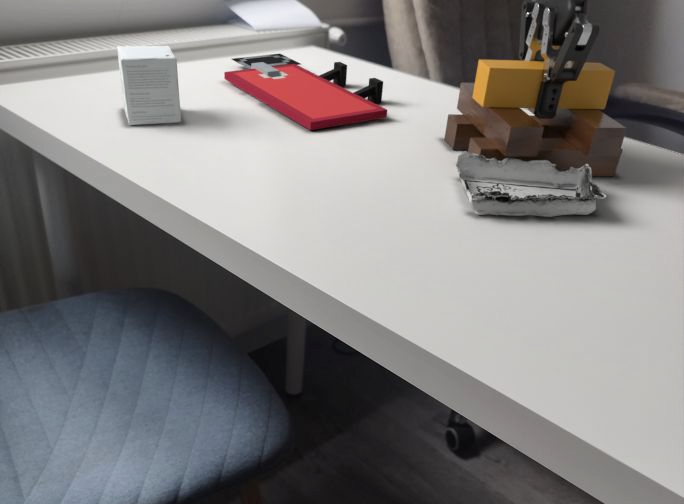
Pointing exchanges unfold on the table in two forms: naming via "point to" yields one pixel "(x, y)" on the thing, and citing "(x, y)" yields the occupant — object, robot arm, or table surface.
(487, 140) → the stacked wooden blocks
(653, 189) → the table surface
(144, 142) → the table surface
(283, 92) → the red board with handle
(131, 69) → the product box
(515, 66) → the ochre bar
